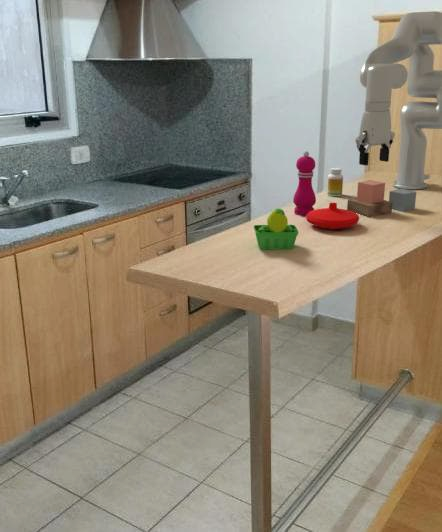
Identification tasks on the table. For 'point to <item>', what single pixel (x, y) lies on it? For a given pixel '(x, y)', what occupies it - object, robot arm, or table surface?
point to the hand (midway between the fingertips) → (373, 162)
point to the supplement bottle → (335, 182)
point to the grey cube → (402, 199)
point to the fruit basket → (276, 232)
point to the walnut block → (369, 208)
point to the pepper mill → (304, 186)
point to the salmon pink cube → (370, 191)
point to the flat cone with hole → (332, 217)
